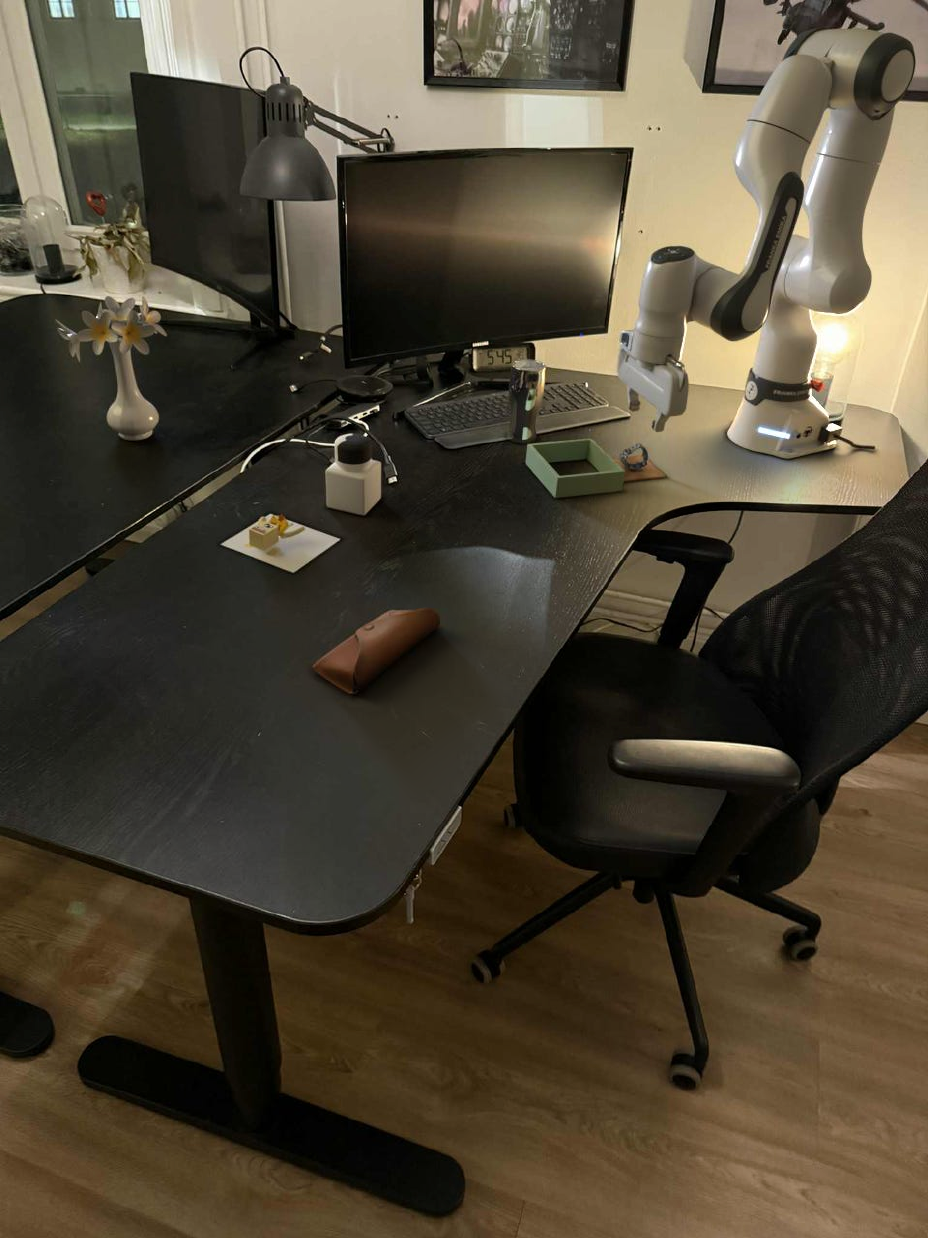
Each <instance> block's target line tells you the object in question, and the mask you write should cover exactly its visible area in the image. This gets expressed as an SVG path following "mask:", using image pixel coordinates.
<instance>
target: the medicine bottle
mask: <svg viewBox="0 0 928 1238" xmlns="http://www.w3.org/2000/svg"><path fill="white" fill-rule="evenodd" d="M372 451H373V450H372V441H371V439H370V438H369V437H368V436H366V435H364V434H359V433H346V434H342V435H340V436H338V437H337V438H336V439H335V441H334V462H333V463H332V464H330V465H329V467H327V469H325V499H326V508H328V509H332V510H336V511H341V512H346V513H348V514H349V513H350V514H354V515H357V516H362V517H364V516H366V515H367V514H368V513H369V512H370V511H371V509H373V507H374V506H375V505H376V504H377V503H378V502H379V501H380V500H381V498H382V462H381V461H378V460H374V459H373V458H372V457H373V456H372V454H373V453H372Z"/></svg>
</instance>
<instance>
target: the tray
mask: <svg viewBox="0 0 928 1238" xmlns="http://www.w3.org/2000/svg"><path fill="white" fill-rule="evenodd" d="M526 444H527V445H526V453H525V465H526V466H527V468H529V469H530V470H531V472H532V474H533V475H535V476H536V478H537V479H538V480H539V481H540V482H541V483H542V485H543V486H544V487H545V488H546V490H548V492H549V493H550V494H551V495H552V496H553V497H554V498H555V499H559V498H569V497H578V496H587V495H597V494H605V493H614V492H622V491H623V487H624V486H623V485H624V482H623V481H624V476H625V470H624V469H623V468H622V467H620V466H619V465H618V464H617V463H616V462H615V461H614V460H613V458H612V457H611V456H610V455H609V454H608V453H607V452H606V451H605V450H604V449H603V448H602V447H601V446H600V445H599V444H598V443H597V442H596V441H595V440H594V439H593V438H582V439H580V438H579V439H571V440H559V441H548V442H536V443H535V442H534V443H526ZM579 460H580V461H581V460H587V461H588V462H589V463H590V464H591V465H592V466H593V467H594V468H595V469H596V470H597V471H595V472H586V473H585V472H584V473H576V474H565V475H560V474H558V473H557V471H556V470H555V469H554V468H553V466H551V465H550V464H551V463H558V462H560V463H561V462H570V461H579Z"/></svg>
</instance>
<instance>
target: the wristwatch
mask: <svg viewBox="0 0 928 1238" xmlns="http://www.w3.org/2000/svg"><path fill="white" fill-rule="evenodd" d="M638 449H641V450H642V451H641V456H643V457H642V458H643V461H641V462H636V463H634V464H630V463H628V462H627V460H626V459H627V457H629V455H632V454H633V453H634V452H635V451H636V450H638ZM618 458H619V459H620V461H621V462H622V463H623V464H624V465H625V466H626V468H627V469H628V470H632V469H633V470H638V469H639V467H640V468H642V467H643V468H644V467H645V466H646V465H647V460H648V461H649V453H648V450H647V448H646V447H645V446H644V445H643V444H641V442H638V443H634V444H633V445H631V446H629V447H628V448H624V449H623V450H622V451H621V452H620V453H619V455H618Z"/></svg>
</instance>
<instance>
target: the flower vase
mask: <svg viewBox="0 0 928 1238" xmlns="http://www.w3.org/2000/svg"><path fill="white" fill-rule="evenodd" d="M104 303H105V306H106V307H107V308H106V309H105V308H103V306H102V305H103V304H102V302H101V301H100V302H99V306H98V308H97V309H98V310H97V314H96V317H95V315H93V314H92V313H91V312H90V311H88V310H83V311H82V312H81V318H82V321H83V322H84V324H85V325H86V327H88V328H84V329H82V330H80V331H78V332H77V333H76V332H74V331H73V330H72V329H69V328H68V327H67V326H65V325H63V323H61V322H60V321H59V320H58V319H55V322H56V323H57V324H58V326H59V327H60V328H59V327H57V328H56V330H57V332H58V334H59V335H60V337H62V339H64V340H66V341H69V342H68V351H69V353H70V356H71V357H72V358H74V357H75V356H76V359H77V360H78V362H79V363H81V354H80V348H81V342H84V343H86V342H91V341H93V342H92V351H93V354H95V355H96V356H100V355H101V354H102V353H103V351H104V348H105V342H107V343H108V345H109V347H110V350H111V353H112V357H113V362H114V368H115V374H116V375H115V376H116V381H117V393H116V397H115V400H114V402H113V403H112V404H111V405H110V407H109V409H108V410H107V414H106V422H107V424H108V426H109V428H111V429H112V430H113V431H114V432H117V433H118V437H119V438H121V439H123V440H125V441H133V442H134V441H141V440H146V439H148V438H149V437H151V436H152V435H153V432H154V431H153V430H154V429H155V428H156V426H158V423H159V420H160V414H159V413H158V410H157V408H156V406H154V405H153V404H152V403H151V402H150V401H148V400H147V399H146V398H145V397H144V395H142V393H141V391H140V389H139V387H138V383H137V379H136V375H135V371H134V367H133V360H132V353H131V352H132V350H131V349H132V348H133V347H134V348H135V349H136V350H137V351H138V352H139V353H140V354H142V355H144V356H145V355H146V356H147V355H149V354H150V347H149V345H148V343H147V342H146V340H145V339H144V338H148V337H151V336H153V334H156V335H157V334H158V333H159V334H160V335H163V336H164V337H168V334H167V332H166V330H164V328H163V327H161V325H159V324H157V323H159V322H160V321H161V318H162V317H161V314H160V313H159V311H157V310H151V311H150V307H149V303H148V301H147V300H146V297H145V296H142V297H141V305H139V310H140V312H137V311H136V310H134V307H135V305H136V299H135V298H134V297H130V298H127V299H126V300H124V301H123V302H122V304H121V305H120V304H119V302H118V301H117V299H115V298H114V297H112V296H110V295H107V296H105V297H104ZM110 325H111V327H110Z"/></svg>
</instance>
